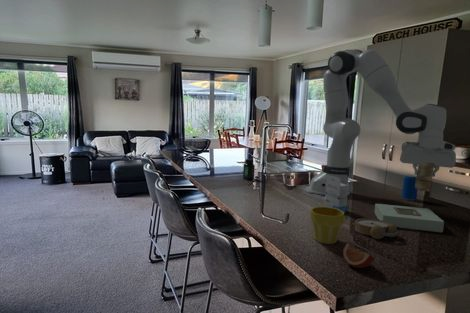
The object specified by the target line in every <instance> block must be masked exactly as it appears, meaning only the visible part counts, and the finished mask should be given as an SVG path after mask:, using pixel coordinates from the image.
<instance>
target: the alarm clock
mask: <svg viewBox="0 0 470 313" xmlns="http://www.w3.org/2000/svg"><path fill="white" fill-rule="evenodd" d="M351 224H352V225H354V226H355V228H354V230H355V232H357V233H359V234H362V235H366V236H371V238H373V239H375V240H382V239H383V238H384V237H388V238H394V237H397V236H398V233H399V231H398V228H397V227H396V226H395V225H394V224H389V223H388V222H385V221H381V220H378V218H377V219H375V218H358V219H356V220H355V222H352V223H351Z"/></svg>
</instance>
